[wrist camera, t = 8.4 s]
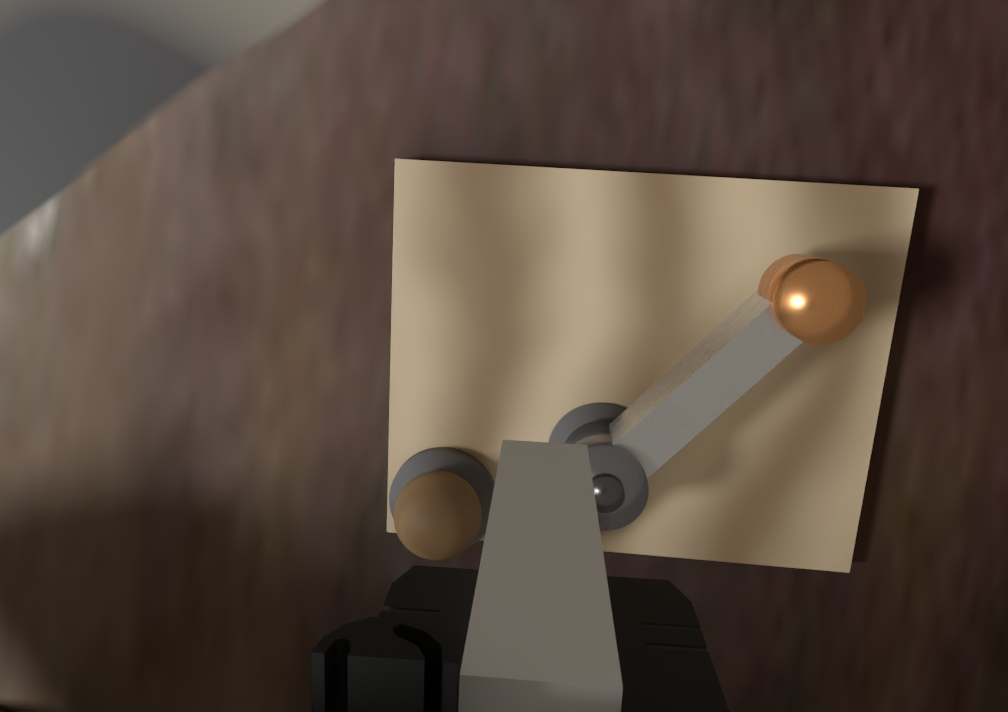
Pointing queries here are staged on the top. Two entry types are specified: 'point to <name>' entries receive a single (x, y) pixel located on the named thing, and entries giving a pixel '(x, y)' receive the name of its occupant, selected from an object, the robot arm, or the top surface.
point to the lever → (717, 377)
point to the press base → (631, 348)
